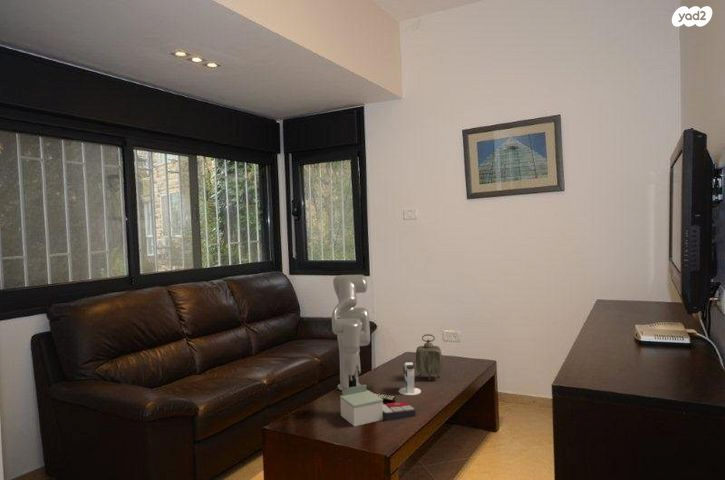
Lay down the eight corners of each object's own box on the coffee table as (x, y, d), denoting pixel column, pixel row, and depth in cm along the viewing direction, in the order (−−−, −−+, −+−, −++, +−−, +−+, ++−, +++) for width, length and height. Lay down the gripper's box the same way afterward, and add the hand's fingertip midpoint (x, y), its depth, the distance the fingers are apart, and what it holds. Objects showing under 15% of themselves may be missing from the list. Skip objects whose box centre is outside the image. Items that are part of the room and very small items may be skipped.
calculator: (415, 408, 214) (384, 411, 209) (415, 418, 214) (384, 421, 209) (405, 400, 225) (375, 403, 220) (405, 409, 225) (375, 413, 220)
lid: (339, 397, 217) (339, 389, 217) (367, 391, 224) (367, 384, 224) (353, 407, 204) (353, 398, 204) (383, 401, 211) (382, 392, 211)
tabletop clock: (442, 376, 270) (440, 332, 269) (443, 381, 261) (441, 336, 260) (416, 376, 271) (415, 332, 271) (416, 381, 262) (415, 336, 262)
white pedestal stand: (397, 388, 253) (396, 359, 252) (418, 387, 254) (417, 358, 253) (400, 395, 241) (399, 366, 240) (422, 394, 242) (422, 365, 241)
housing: (340, 415, 217) (340, 398, 217) (368, 409, 224) (367, 392, 224) (354, 426, 205) (353, 407, 205) (382, 419, 211) (382, 401, 211)
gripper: (337, 346, 226) (338, 384, 227) (351, 354, 213) (352, 394, 214) (351, 344, 230) (353, 381, 230) (366, 351, 216) (367, 391, 217)
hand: (352, 387), depth 222 cm, fingers closed
